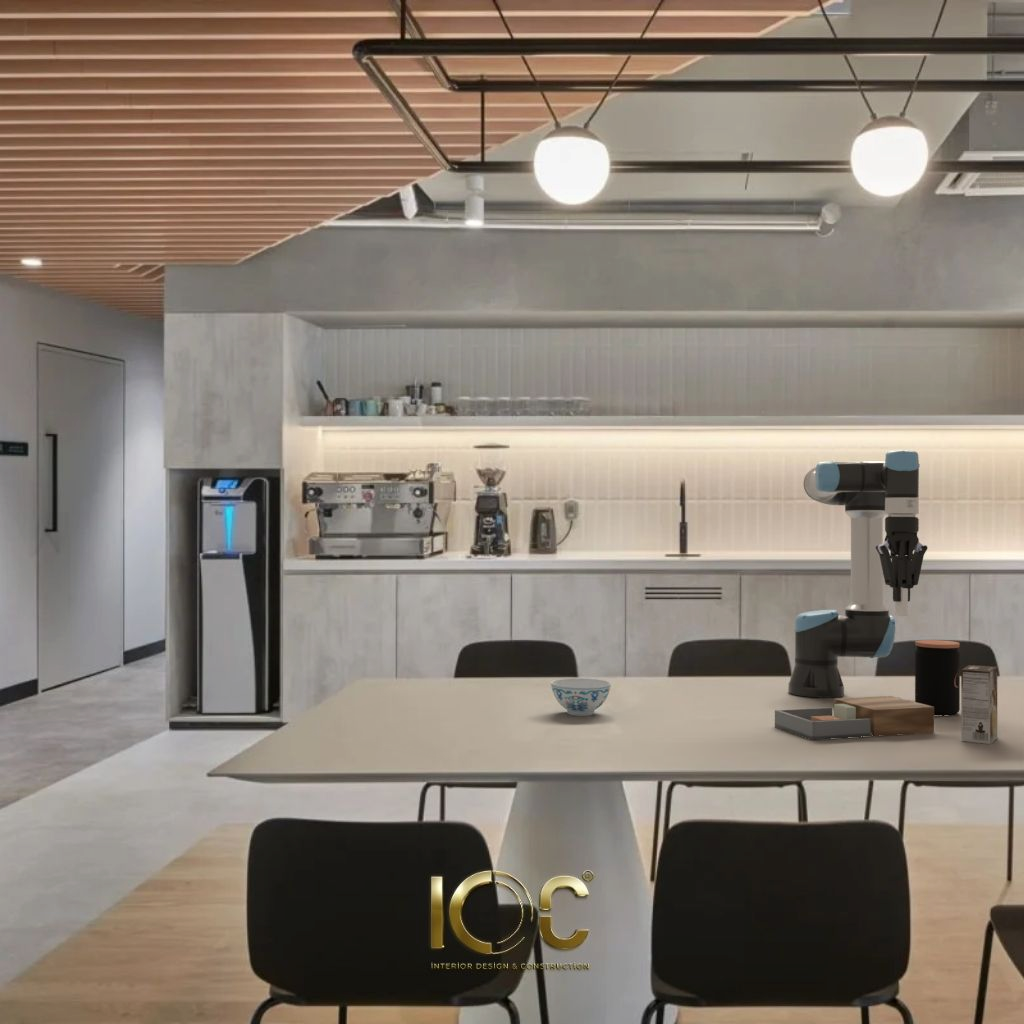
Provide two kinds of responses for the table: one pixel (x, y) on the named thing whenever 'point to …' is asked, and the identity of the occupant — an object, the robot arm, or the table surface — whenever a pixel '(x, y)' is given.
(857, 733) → the tray
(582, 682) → the chinaware
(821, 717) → the terracotta tile
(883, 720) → the walnut board
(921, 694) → the coffee jar
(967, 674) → the coffee box
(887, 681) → the table surface
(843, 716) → the sage tile
